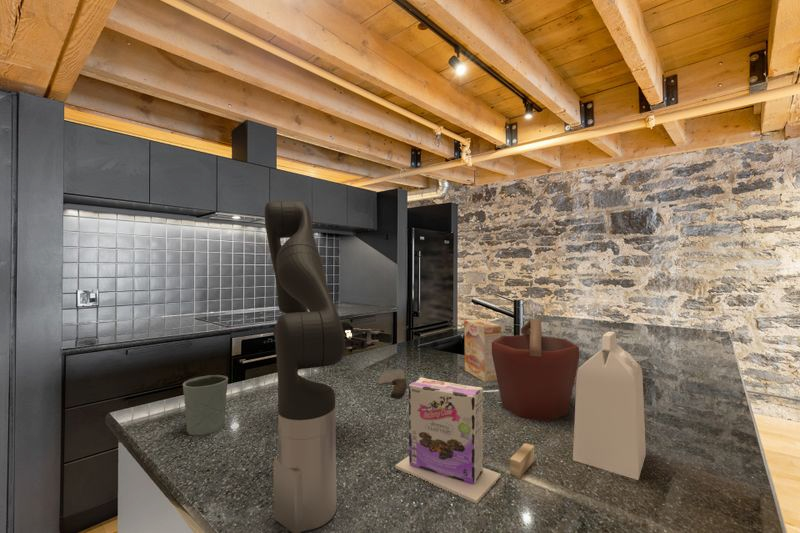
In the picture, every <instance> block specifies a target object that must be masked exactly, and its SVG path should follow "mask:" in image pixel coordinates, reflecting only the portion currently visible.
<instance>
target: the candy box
mask: <svg viewBox="0 0 800 533" xmlns="http://www.w3.org/2000/svg"><path fill="white" fill-rule="evenodd" d="M483 395H484V388H483V387H481V386H473V385H468V384H467V385H465V384H459V383H454V382H448V381H443V380H436V379H430V378H425V377H422V376H421V377H419V378H417V379H416V380H415V381H413V382H411V383H410V384H409V385H408V423H409V424H408V434H409V435H408V437H409V438H408V442H409V443H408V444H409V446H408V450H409V451H408V452H409V454H408V456H409V464H410V465H412V466H415V467H418V468H422V469H425V470H428V471H432V472H435V473H438V474H441V475H444V476H448V477H451V478H455V479H458V480H461V481H464V482H467V483H471V484H475V482H476V481H477V479H478V478H479V476H480V475H481V473H482V472H483V468H484V463H483V462H484V458H483V457H484V455H483V453H484V452H483V451H484V446H483V445H484V444H483V443H484V442H483V441H484V440H483V439H484V437H483V436H484V428H483V426H484V417H483V416H484V414H483V413H484V412H483V411H484V410H483V407H484V406H483V405H484V404H483V401H484V396H483Z"/></svg>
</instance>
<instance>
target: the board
mask: <svg viewBox="0 0 800 533" xmlns="http://www.w3.org/2000/svg"><path fill="white" fill-rule="evenodd" d="M394 468H395V469H396V470H399V471H401V472H403V473H405V474H407V473H408V475H410V474H411V475H410V476H412V475H413V476H412V477H414V476H416V477H418V478H417V479H419V478H421V479H423V480H425V481H424V482H426V481H428V482H429V483H428V482H427V483H428V484H430V483H431V484H430V485H432V484H433V486H435V487H436V488H439V489H441V488H442V489H441V490H443V491H447V492H448V491H449V492H448V493H450V492H451V493H450V494H453V495H456V496H457V495H458V497H459V498H462V499H464V500H466V501H468V502H471V503H473V504H476V505H477V504H478V503H480V501H481V500H482V499H483V498H484V496H485V495H487V493H488V492H489V491H490V490H491V489H492V488H493V486H494V485H495V484H496V483H497V482H498V481H499V480H500V479H501V478H502V475H501V473H500V472H496V471H494V470H491V469H489V468H485V467H483V472H482V473H481V475H480V476H479V478H478V479H477V481H476V482H475V484H471V483H467V482H464V481H461V480H458V479H455V478H451V477H448V476H444V475H441V474H438V473H435V472H432V471H428V470H425V469H422V468H418V467H415V466H412V465H410V464H409V455H408V456H407V457H405V458H404V459H402V460H400V461H399V462H398V463H396V464H394ZM416 477H415V478H416ZM500 477H501V478H500ZM499 478H500V479H499ZM421 479H420V480H421ZM498 479H499V480H498ZM423 480H422V481H423ZM497 480H498V481H497ZM496 481H497V482H496ZM491 487H492V488H491ZM481 498H482V499H481Z"/></svg>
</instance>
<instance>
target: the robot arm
mask: <svg viewBox="0 0 800 533" xmlns="http://www.w3.org/2000/svg"><path fill="white" fill-rule="evenodd" d="M311 217H312V216H311V211H310V209H309V207H308V205H307V204H306V203H305V202H304V201H300V200H286V201H285V200H283V201H280V200H277V201H275V200H274V201H269V202H267V203H266V204H265V207H264V224H265V231H266V237H267V238H266V239H267V243H268V248H269V249H268V250H269V254H270V258H271V259H270V260H271V264H272V267H273V272H274V277H275V285H276V296H277V306H278V307H277V308H278V309H279V311H280V312H282V314H281V315H280V316H279V317H278V318H277V321H276V324H275V325H274V327H273V337H274V339H275V355H276V366H277V367H276V368H277V371H276V372H277V430H278V431H277V434H278V435H277V439H278V440H277V443H278V447H277V449H278V453H277V454H278V458H276V459H274V460H273V462H272V468H273V472H272V474H273V475H272V476H273V478H272V479H273V481H272V482H273V486H272V488H273V519H274V520H275V521H276V522H278V523H279V524H281V525H282V526H283V527H284V528H285V529H286V530H288V531H290V532H291V533H302V532H305V531H312V530H315V529H318V528H320V527H322V526H325V525H326V524H327V523H328V522H329V521H331V520H332V519H333V518H334V516H335V514H336V513H337V449H336V448H337V447H336V445H337V444H336V442H337V441H336V440H337V436H336V435H337V433H336V424H337V423H336V422H337V420H336V393H335V390H334V389H333V388H332V387H331V386H330V385H327V384H325V383H321V382H318V381H317V382H316V381H313V380H309V379H306V378H305V377H303V376H301V375H300V374H299V373H298V372H299V370H305V369H306V370H307V369H314V368H323V367H329V366H334V365H336V364H338V363H340V362H341V360H342V359H343V357H344V354H345V352H346V351H347V350H351V349H359V350H366V349H367V348H368V347H367V346H368V345H371V343H373V342H374V343H386V344H391V343H392V342H393V334H392V333H390V332H385V330H384V329H382V328H381V329H378V328H370V327H369V328H368V327H365V328H362V329H361V328H359V327H356V328H355V327H353V325H352V324H351V323H350V322H349V321H346V320H341V318H340V316H339V313H338V310H337V308H336V306H335V303H334V300H333V299H332V295H331V293H330V290H329V288H328V287H329V286H328V285H327V280H326V279H327V278H326V276H325V275H326V274H325V270H324V266H323V263H322V259H321V258H322V257H321V255H320V252H319V248H318V245H317V243H316V239H315V235H314V228H313V222H312V218H311ZM281 239H287V240H286V241H285V242H284V243H283V244H282V241H281Z"/></svg>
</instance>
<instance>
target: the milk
mask: <svg viewBox="0 0 800 533" xmlns="http://www.w3.org/2000/svg"><path fill="white" fill-rule="evenodd" d="M601 340H602V341H601V349H599V351H597V352H596V353H595V354H593V355H592V356H591V357H590V358H588V359H587V360H586V361H585V362H584V363H583V364H581V366H579V367H577V371H576V380H575V381H576V382H575V383H576V384H575V385H576V386H575V404H574V406H575V408H574V427H573V429H574V430H573V447H572V448H573V450H572V460H573V461H574V462H578V463H581V464H585V465H588V466H591V467H593V468H598V469H601V470H604V471H607V472H611V473H614V474H617V475H620V476H622V477H627V478H630V479H633V480H637V481H639V479H640V476H641V471H642V469H643V466H644V463H645V458H646V456H647V455H646V454H647V450H646V449H647V448H646V428H645V427H646V426H645V406H644V381H643V379H644V378H643V369H642V367H641V365H640V364H639V362H637V361H636V360H635V358H633V356H632V355H631V354H630V353H629V352H628V351H626V350H625V349H623V348H622V347H621V346H620V345H618V343H617V342H618V341H617V335H616V331H610V330H609V331H607V332H605V333H603V335H602V339H601Z"/></svg>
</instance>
